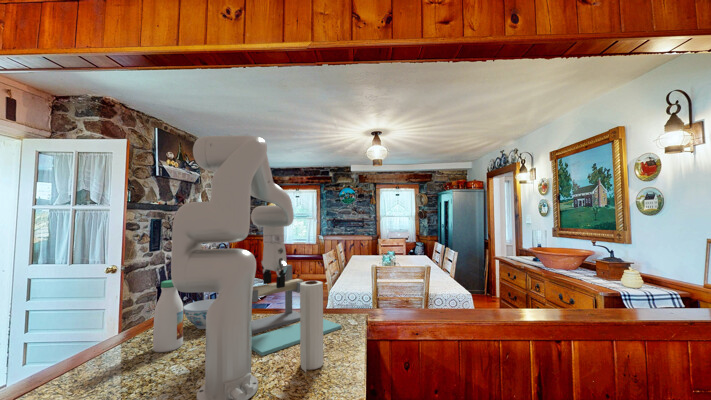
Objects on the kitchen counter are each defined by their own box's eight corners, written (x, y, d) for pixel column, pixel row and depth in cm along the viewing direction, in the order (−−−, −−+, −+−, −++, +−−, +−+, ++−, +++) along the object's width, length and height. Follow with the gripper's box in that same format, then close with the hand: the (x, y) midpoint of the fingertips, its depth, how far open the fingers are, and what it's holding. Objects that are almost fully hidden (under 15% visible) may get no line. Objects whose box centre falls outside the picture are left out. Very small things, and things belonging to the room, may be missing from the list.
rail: (303, 287, 120) (303, 279, 120) (244, 299, 103) (244, 290, 103) (298, 286, 122) (298, 278, 122) (240, 297, 105) (240, 288, 106)
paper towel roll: (313, 357, 84) (313, 279, 85) (328, 364, 79) (327, 281, 81) (291, 366, 78) (291, 283, 80) (305, 374, 74) (305, 286, 76)
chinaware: (195, 336, 100) (195, 312, 101) (175, 327, 109) (176, 305, 110) (236, 323, 112) (236, 302, 113) (215, 316, 121) (216, 297, 122)
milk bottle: (168, 354, 87) (170, 283, 89) (146, 352, 89) (148, 283, 90) (188, 343, 95) (189, 278, 96) (167, 341, 96) (169, 278, 98)
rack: (307, 318, 117) (307, 266, 118) (247, 335, 100) (248, 274, 102) (293, 313, 124) (292, 264, 125) (235, 328, 107) (235, 271, 109)
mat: (341, 328, 106) (341, 325, 106) (262, 356, 85) (262, 352, 85) (318, 319, 115) (318, 317, 115) (242, 343, 94) (242, 339, 94)
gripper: (295, 239, 110) (295, 287, 110) (271, 237, 123) (271, 280, 122) (276, 241, 105) (276, 291, 104) (253, 239, 117) (253, 283, 117)
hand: (273, 285), depth 113 cm, fingers open, 9 cm apart
